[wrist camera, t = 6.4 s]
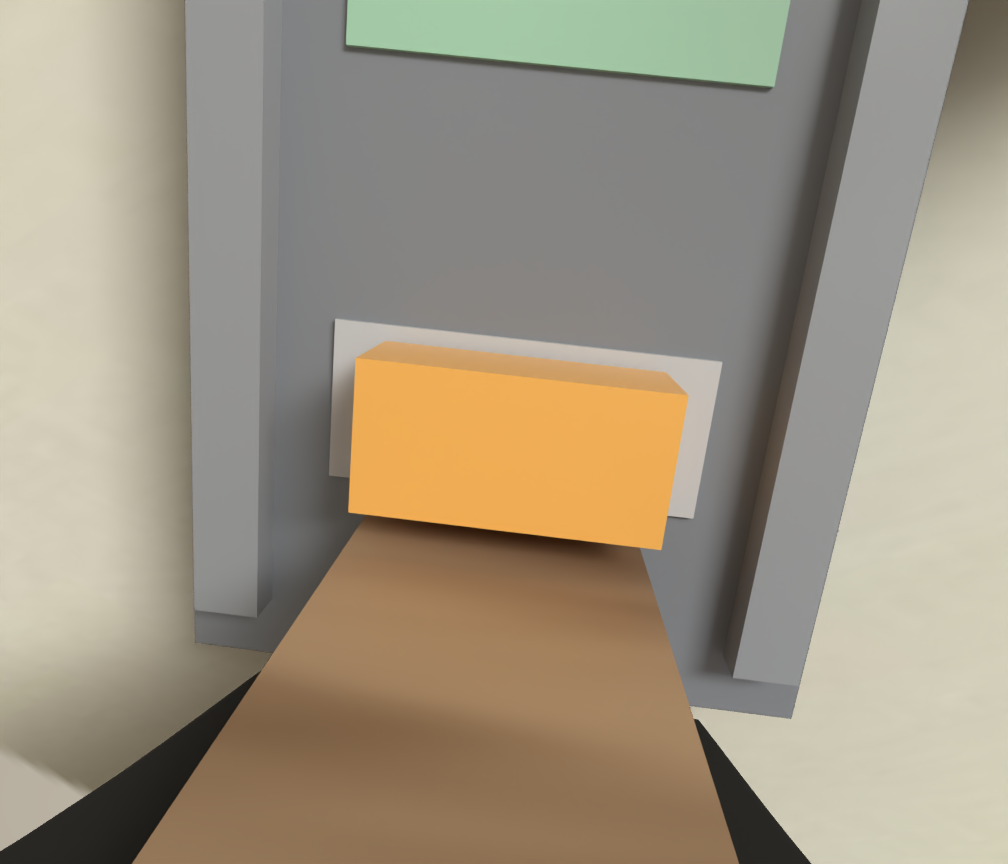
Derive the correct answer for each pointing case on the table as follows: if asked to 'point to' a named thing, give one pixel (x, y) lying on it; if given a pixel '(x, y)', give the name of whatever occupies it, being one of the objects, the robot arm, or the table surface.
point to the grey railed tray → (556, 267)
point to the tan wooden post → (460, 717)
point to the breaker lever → (515, 443)
